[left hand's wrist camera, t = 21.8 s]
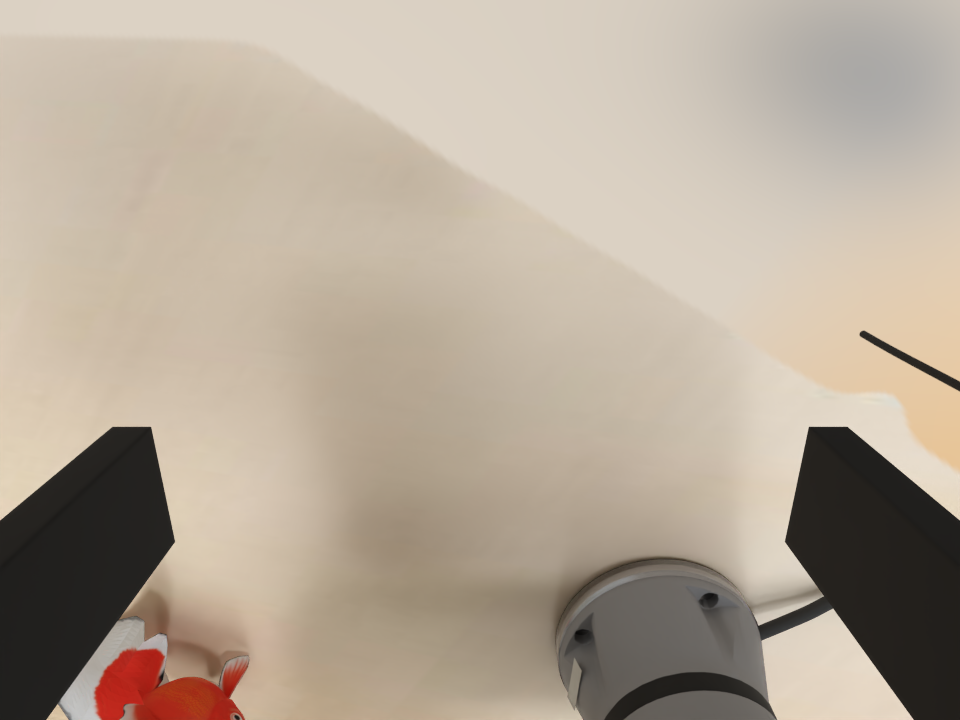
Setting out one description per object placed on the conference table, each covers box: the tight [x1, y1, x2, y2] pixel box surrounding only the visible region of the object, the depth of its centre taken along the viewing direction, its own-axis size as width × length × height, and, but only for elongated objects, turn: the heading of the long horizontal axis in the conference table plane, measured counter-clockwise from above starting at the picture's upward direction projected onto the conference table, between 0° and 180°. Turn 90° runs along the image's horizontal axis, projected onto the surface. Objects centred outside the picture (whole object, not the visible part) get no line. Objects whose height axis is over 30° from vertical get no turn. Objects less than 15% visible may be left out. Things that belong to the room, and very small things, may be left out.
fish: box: [58, 616, 249, 720], centre depth 46 cm, size 11×16×10 cm
